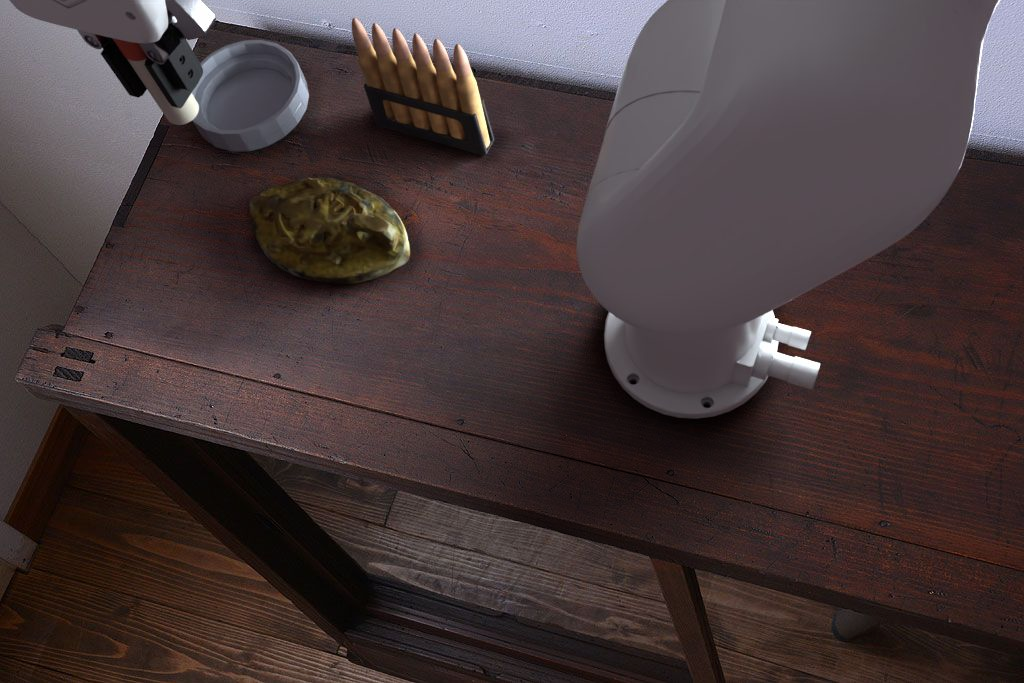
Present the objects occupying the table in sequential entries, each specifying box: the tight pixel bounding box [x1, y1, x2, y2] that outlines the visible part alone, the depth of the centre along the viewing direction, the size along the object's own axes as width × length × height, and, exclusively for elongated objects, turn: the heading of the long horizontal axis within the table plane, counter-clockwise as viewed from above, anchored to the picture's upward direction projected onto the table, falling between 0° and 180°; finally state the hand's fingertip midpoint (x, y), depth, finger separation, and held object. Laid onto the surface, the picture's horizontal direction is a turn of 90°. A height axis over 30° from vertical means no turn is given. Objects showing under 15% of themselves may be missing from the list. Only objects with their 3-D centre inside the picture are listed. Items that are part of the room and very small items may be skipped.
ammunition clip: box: [351, 17, 495, 157], centre depth 78 cm, size 11×2×12 cm, turn 66°
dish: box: [191, 39, 310, 153], centre depth 86 cm, size 10×10×3 cm
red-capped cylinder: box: [112, 38, 199, 126], centre depth 59 cm, size 2×2×8 cm
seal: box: [248, 176, 411, 285], centre depth 78 cm, size 9×5×15 cm
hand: (167, 83), depth 61 cm, fingers closed on red-capped cylinder, 2 cm apart
